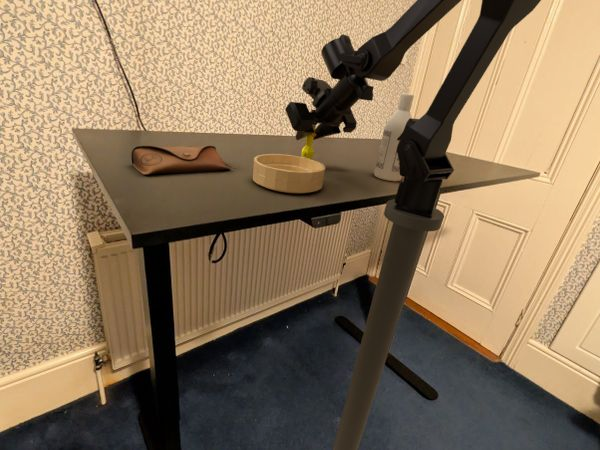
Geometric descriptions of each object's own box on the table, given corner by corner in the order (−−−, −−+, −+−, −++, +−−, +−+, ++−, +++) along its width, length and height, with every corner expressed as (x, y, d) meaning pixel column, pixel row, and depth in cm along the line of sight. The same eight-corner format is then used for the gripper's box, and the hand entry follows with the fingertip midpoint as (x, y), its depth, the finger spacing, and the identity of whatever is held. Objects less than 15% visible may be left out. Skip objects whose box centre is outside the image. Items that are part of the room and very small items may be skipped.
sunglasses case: (144, 174, 58) (136, 138, 58) (135, 183, 63) (128, 150, 63) (233, 169, 69) (226, 138, 69) (219, 177, 75) (213, 149, 75)
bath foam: (403, 178, 84) (424, 96, 76) (398, 183, 78) (421, 95, 70) (377, 172, 87) (395, 92, 79) (370, 177, 81) (389, 91, 73)
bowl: (331, 185, 70) (335, 164, 68) (302, 201, 58) (306, 177, 56) (275, 170, 75) (277, 151, 73) (237, 182, 63) (239, 159, 61)
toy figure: (290, 162, 84) (295, 114, 79) (299, 161, 86) (305, 115, 82) (308, 169, 80) (315, 119, 75) (318, 168, 82) (325, 119, 77)
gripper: (357, 72, 77) (319, 113, 89) (295, 59, 66) (262, 109, 77) (375, 111, 75) (334, 148, 87) (315, 106, 63) (277, 149, 75)
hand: (303, 138), depth 81 cm, fingers open, 4 cm apart
